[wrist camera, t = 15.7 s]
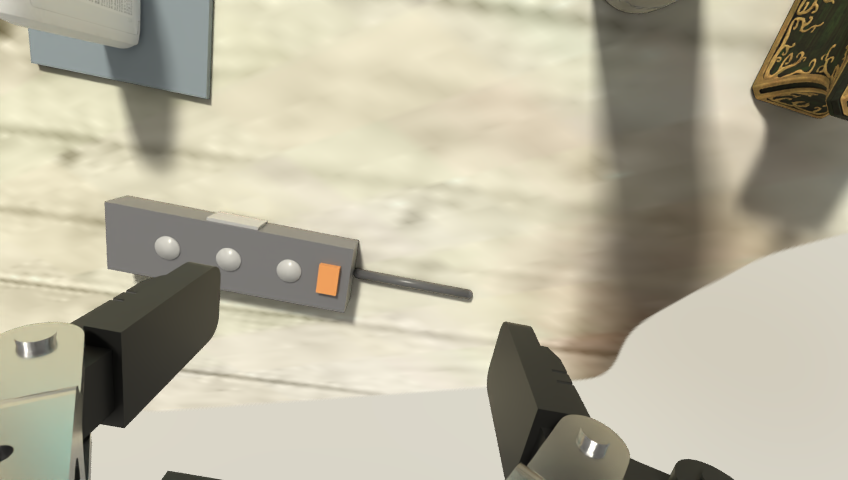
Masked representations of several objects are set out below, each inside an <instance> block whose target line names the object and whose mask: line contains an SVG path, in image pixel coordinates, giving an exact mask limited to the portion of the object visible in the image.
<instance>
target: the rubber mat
mask: <svg viewBox="0 0 848 480" xmlns="http://www.w3.org/2000/svg"><path fill="white" fill-rule="evenodd" d="M212 15H213V0H140V35H139V41H138V44H137V45H134V46H132V47H130V48H125V49H122V48H116V47H111V46H107V45H102V44H98V43H93V42H89V41H84V40H80V39H75V38H71V37H66V36H62V35H57V34H53V33H48V32H44V31H39V30H35V29H30V28H28V31H29V42H30V53H31V63H35V64H40V65H45V66H49V67H54V68H59V69H64V70H69V71H74V72H79V73H83V74H88V75H93V76H98V77H103V78H108V79H113V80H118V81H122V82H127V83H132V84H137V85H142V86H147V87H152V88H157V89H161V90H166V91H171V92H176V93H181V94H186V95H191V96H195V97H200V98H205V99H210V73H211V44H212Z"/></svg>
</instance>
